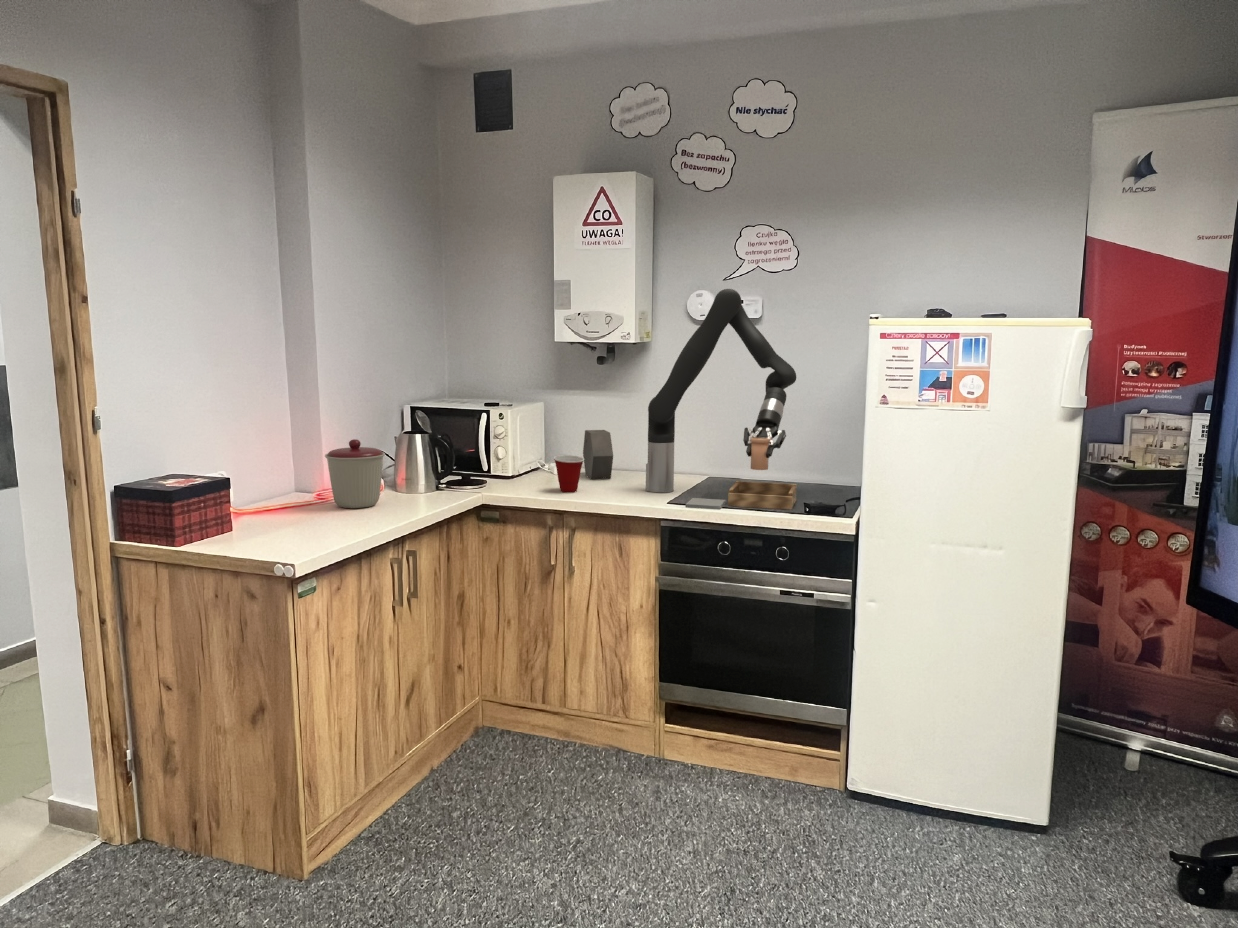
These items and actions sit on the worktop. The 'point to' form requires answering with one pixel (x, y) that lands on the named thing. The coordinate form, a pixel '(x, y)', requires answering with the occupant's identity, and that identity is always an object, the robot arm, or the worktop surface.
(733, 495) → the wooden tray
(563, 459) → the plastic cup
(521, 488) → the worktop surface
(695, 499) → the slate tile
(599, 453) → the grey hexagonal block
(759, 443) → the terracotta pot
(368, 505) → the canister
